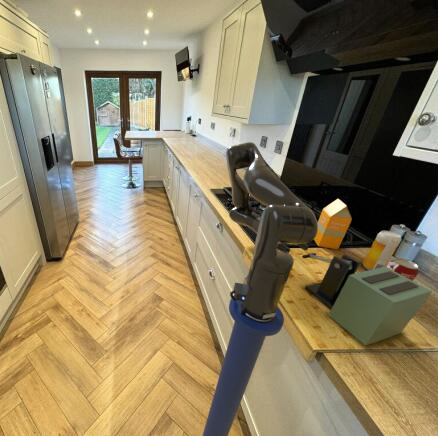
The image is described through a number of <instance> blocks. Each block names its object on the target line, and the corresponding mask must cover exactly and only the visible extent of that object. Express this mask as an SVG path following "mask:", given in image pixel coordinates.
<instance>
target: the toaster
mask: <svg viewBox="0 0 438 436" xmlns="http://www.w3.org/2000/svg"><path fill="white" fill-rule="evenodd" d="M432 292H433V291H432V290H431V289H429V288H427V287H425V286H423V285H421V284H419V283H418V282H415V281H414V280H413V281H412V280H410V279H408V278H406V277H404V276H402V275H400V274H398V273H396V272H394V271H393V270H391V269H389V268H387V267H381V268H377V269H373V270H365V271H360V272H355V274H351V275H349V277H348V279H347V281H346V283H345V285H344V287H343V288H342V290H341V292H340V294H339V296H338V298H337V300H336V302H335V304H334V306H333V308H332V309H330V312H329V314H328V317H329V318H331V319H332V320H333V321H335V322H336V323H337V324H338V325H340V326H341V327H342V328H343V329H344V330H346V331H347V332H348V333H349V334H350V335H352V336H353V337H354V338H355V339H356V340H358V341H359V342H360V343H361V344H363V345H364V346H365V347H366V346H369V345H371V344H375V343H377V342H380V341H383V340H385V339H389V338H390V337H393V336H396V335H399V334H402V332H403V331H404V330H405V328H406V327H407V326H408V325H409V323H410V322H411V320H412V319H413V318H414V317H415V315H416V314H417V313H418V311H419V310H420V308H421V307H422V306H423V304H424V303H425V302H426V301H427V299H428V298H429V297H430V295H431V293H432Z"/></svg>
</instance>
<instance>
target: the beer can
mask: <svg viewBox="0 0 438 436" xmlns="http://www.w3.org/2000/svg"><path fill="white" fill-rule="evenodd" d="M401 242H402V235H400V234H398V233H396V232H394V231H389V230H381V231H380V232H379V233H377V235H376V237H375V239H374V241H373V242H372V245H371V246H370V248H369V250H368V252H367V253H366V255H365V257H364V258H363V261H362V265H363V267H364V268H365V269H366V270H367V271H369V270H373V269H377V268H381V267H386V266H387V264H388V263H389V262H390V261H391V258H392V257H393V255H394V253H395V252H396V250H397V249H398V247H399V245H400V243H401Z"/></svg>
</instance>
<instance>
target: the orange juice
mask: <svg viewBox="0 0 438 436" xmlns="http://www.w3.org/2000/svg"><path fill="white" fill-rule="evenodd" d="M348 208H349V207H348V205H347V204H345V203H344V202H343V201H342V200H341V199H339V198H337V199H335V200H334V201H332V202H331V203H329V204H328V205H327V206H325V207H323V208H322V211H321V213H320V215H319V218H318V220H317V224H318V231H317V235H316V237H315V238H314V239H313V241H314V242H315V244H316V245H317V246H318V247H321V248H326V249H333V250H339V248H340V246H341V244H342V242H343V239H344V238H345V236H346V233H347V231H348V229H349V227H350V225H351V223H352V220H353V219H352V215H351V213H350V210H349V209H348Z"/></svg>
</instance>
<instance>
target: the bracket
mask: <svg viewBox="0 0 438 436" xmlns="http://www.w3.org/2000/svg"><path fill="white" fill-rule="evenodd" d="M331 259H332V261H331V263H329V265H328V267H327V270H326V272H325V274H324V276H323V278H322V280H321V282H317V283H313V284H309V285H306V286H305V290H306V291H307V292H308V293H310V294H311V296H313V297H315V298H316V299H317V300H319V302H321V303H322V304H324V305H325V306H326V307H327V308H329V309H330V310H331V309H332V308H333V306H334V304H335V302H336V300H337V298H338V296H339V294H340V292H341V290H342V288H343V287H344V285H345V283H346V281H347V279H348V277H349V275H351V274H356V273H357V270H358V269H359V267H360V265H361V263H362V262H360V261H359V260H357V259H355V258H353V257H352V256H349V255H348V254H346V253H344V254H342V256H341V258H340V257H339V256H337V255H334V256H333V257H332V258H331ZM342 259H345V260H350V261H352V269H350V270H348V269H349V267H350V264H349V263H347V262H345V261H344V260H342Z"/></svg>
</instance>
